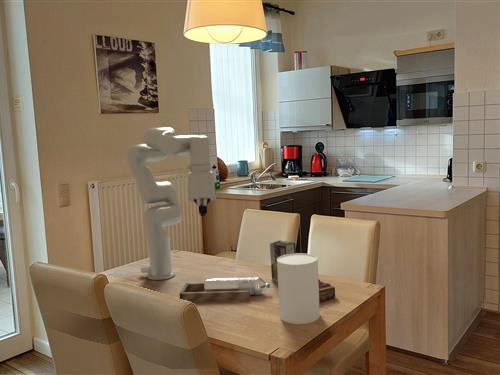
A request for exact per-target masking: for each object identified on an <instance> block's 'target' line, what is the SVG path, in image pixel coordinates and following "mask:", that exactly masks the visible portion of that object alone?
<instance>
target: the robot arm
mask: <svg viewBox="0 0 500 375" xmlns="http://www.w3.org/2000/svg"><path fill="white" fill-rule="evenodd" d="M142 141H143V142H142V143H138V144H134V145H131V146H129V147H128V149H127V150H126V163H127V166H128V168H129V170H130V172H131V174H132V175H133V177H134V181H135V184H136V187H137V191H138V194H139V197H140V200H141V201H142V203H143V204H144V205H147V206H151V205H154V206H151V207H148V208H146V209H145V211H144V212H143V213H142V214H143V215H142V216H143V222H144V226H145V231H146V236H147V248H148V259H149V260H148V261H149V266H147V267H140V272H142V273H143V274H145V273H147V274H146V278H147V279H149V280H152V281H161V280H162V281H163V280H168V279H171V278H173V277H175V276H176V271H175V270H174V269H172V268H173V267H172V257H171V256H172V255H171V254H172V253H171V244H170V236H169V234H168V232H167V231H166V229H165V227H167V226H168V227H169V226H174V225H177V224H179V223H180V222H181V221H182V219H183V211H182V208H181V207H182V206H181V205H180V201H179V198H178V195H177V192H176V188H175V186H174V185H173V184H172V183H171V182H170V181H157V180H156V177H155V175H154V172H153V170H152V169H151V168H150V167H149V166H147V165H146V164H147V163H153V162H155V163H156V162H161V161H163V160H165V159H167V157H168V156H172V157H175V156H185V155H187V156H188V155H189V158H190V159H189V160H190V161H189V162H190V164H189V165H186V169H187V170H190V172H188V175H187V176H188V177H187V196H188V198H187V200H188V202H193V203H195V204H196V205H197V207H198V214H200V217H205V216H206V214H208V204H209V203H210V202H214V201H215V200H217V196H216V184H215V178H214V173H213V171H212V169H211V168H212V166H211V152H210V150H211V149H210V139H209V137H208V136H207V135H197V134H188V135H185V134H184V135H177V133H176V131H175V130H174V129H173V128H172V127H170V126H169V127H166V126H165V127H151V128H148V129H146V130H145V131H144V132H143V133H142ZM202 199H203V202H202ZM158 204H160V205H158ZM161 204H162V205H161ZM155 205H156V206H155Z"/></svg>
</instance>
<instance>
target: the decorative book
mask: <svg viewBox="0 0 500 375" xmlns="http://www.w3.org/2000/svg"><path fill="white" fill-rule="evenodd" d="M318 284H319V303H320V302H323V301H324V302H325V301H326V300H327V301H329V300H331V299H334V298H336V287H334V286H332V284H330V283H327V282H326V283H325V282H323V281H321V279H319V278H318Z"/></svg>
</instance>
